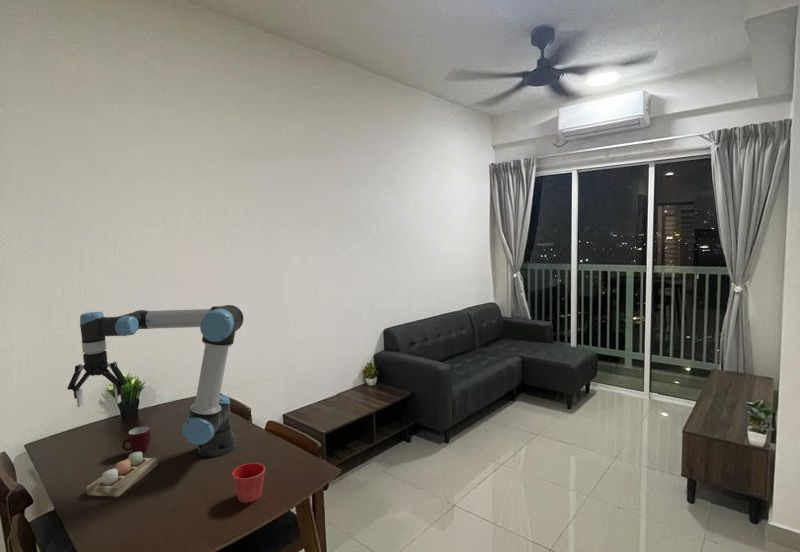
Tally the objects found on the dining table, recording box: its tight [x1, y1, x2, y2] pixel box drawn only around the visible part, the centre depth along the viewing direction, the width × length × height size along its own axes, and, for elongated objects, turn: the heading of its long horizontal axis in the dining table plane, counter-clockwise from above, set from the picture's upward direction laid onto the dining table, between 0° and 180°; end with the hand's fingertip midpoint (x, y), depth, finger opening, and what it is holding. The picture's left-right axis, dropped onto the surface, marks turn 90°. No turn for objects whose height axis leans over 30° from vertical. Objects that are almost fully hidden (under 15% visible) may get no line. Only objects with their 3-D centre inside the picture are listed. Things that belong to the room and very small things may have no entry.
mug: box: [121, 425, 152, 455], centre depth 181 cm, size 10×8×10 cm
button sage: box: [128, 452, 144, 467], centre depth 168 cm, size 5×5×4 cm
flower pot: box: [231, 462, 266, 504], centre depth 149 cm, size 11×11×10 cm
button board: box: [86, 457, 158, 498], centre depth 161 cm, size 12×21×3 cm, turn 175°
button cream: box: [101, 468, 118, 486], centre depth 155 cm, size 5×5×4 cm
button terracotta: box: [115, 459, 131, 476], centre depth 161 cm, size 5×5×4 cm
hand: (99, 404), depth 168 cm, fingers open, 13 cm apart
